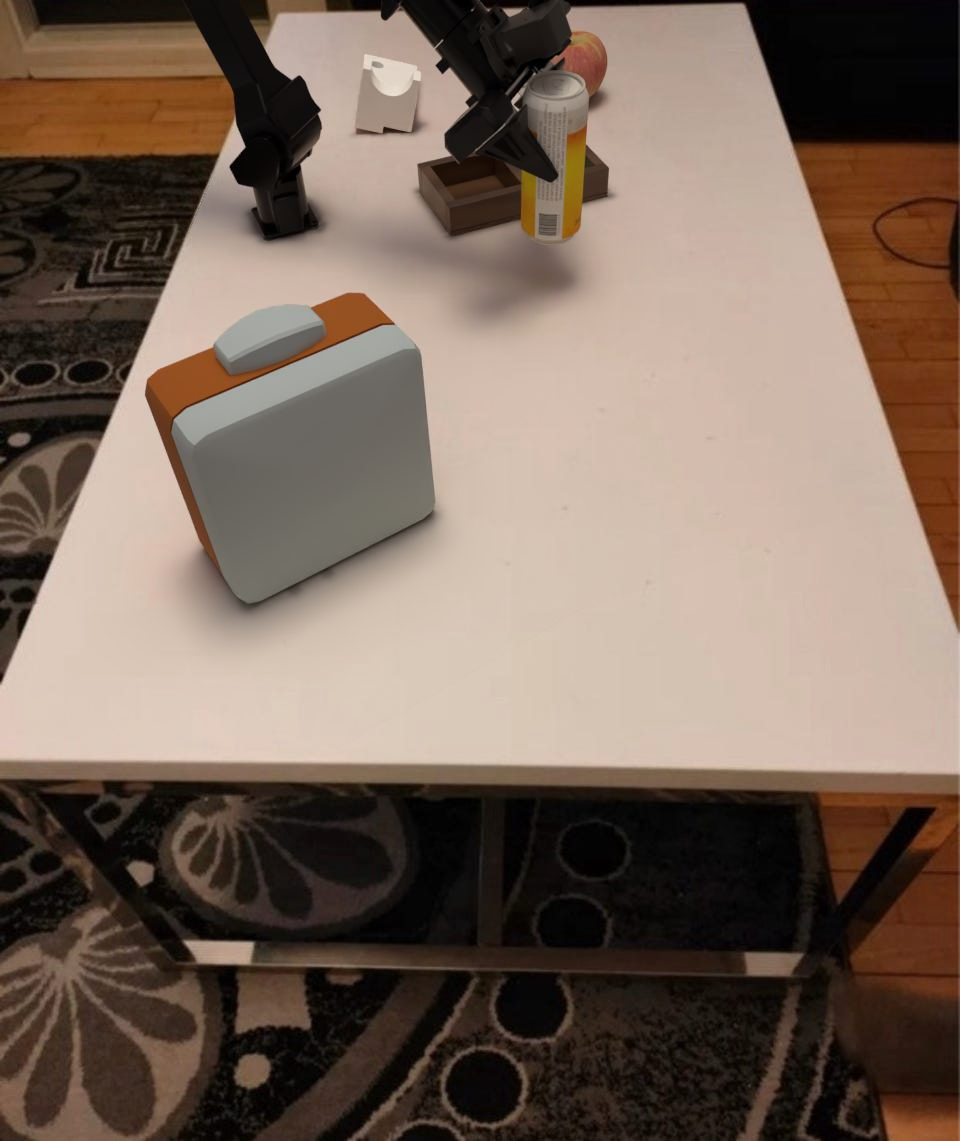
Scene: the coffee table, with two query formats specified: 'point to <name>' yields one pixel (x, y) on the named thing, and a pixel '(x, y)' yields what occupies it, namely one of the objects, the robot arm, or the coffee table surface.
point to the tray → (488, 189)
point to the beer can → (556, 156)
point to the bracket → (387, 94)
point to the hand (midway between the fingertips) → (566, 163)
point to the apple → (585, 59)
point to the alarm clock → (297, 439)
